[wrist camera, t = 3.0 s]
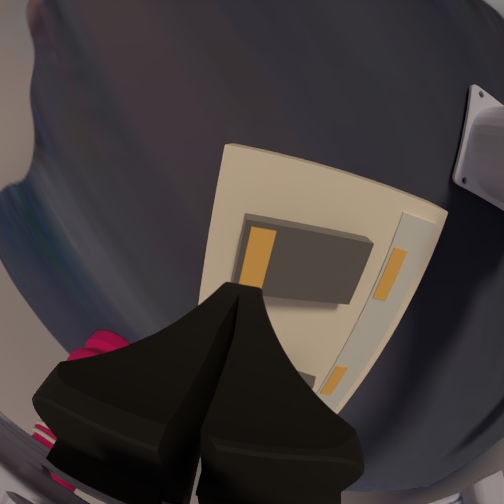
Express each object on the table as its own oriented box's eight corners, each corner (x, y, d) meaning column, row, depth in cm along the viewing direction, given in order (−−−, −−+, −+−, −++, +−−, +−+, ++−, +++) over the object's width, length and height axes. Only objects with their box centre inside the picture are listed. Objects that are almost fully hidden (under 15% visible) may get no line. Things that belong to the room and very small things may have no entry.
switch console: (431, 202, 16) (453, 214, 13) (335, 395, 24) (337, 419, 22) (233, 143, 16) (222, 144, 14) (196, 367, 25) (187, 391, 22)
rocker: (366, 236, 15) (375, 244, 14) (343, 295, 17) (349, 305, 16) (244, 212, 14) (246, 220, 13) (230, 281, 15) (231, 293, 14)
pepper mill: (147, 383, 27) (79, 532, 9) (94, 362, 27) (15, 489, 9) (143, 339, 24) (43, 519, 6) (83, 316, 24) (-27, 458, 6)
